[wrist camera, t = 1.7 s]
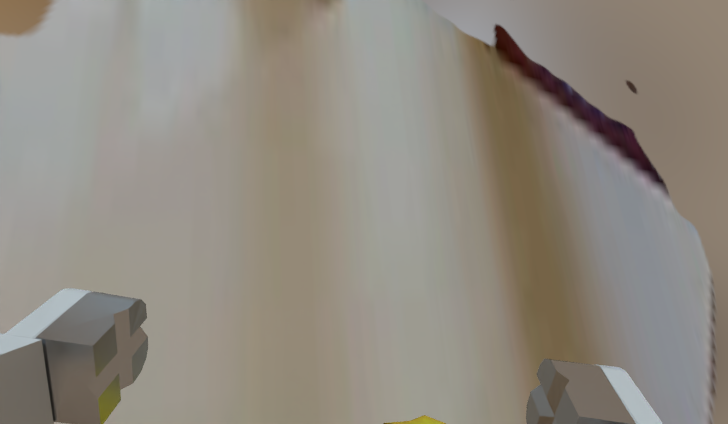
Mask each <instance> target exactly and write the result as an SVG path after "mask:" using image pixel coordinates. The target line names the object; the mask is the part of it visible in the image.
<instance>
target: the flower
mask: <svg viewBox="0 0 728 424" xmlns="http://www.w3.org/2000/svg"><path fill="white" fill-rule="evenodd" d="M384 424H446V423H443V422H440V421H438V420H435V419H433V418H430V417H428V416H425V415H424V416H421V417H419V418H416V419H413V420H411V421H404V422H392V423H384Z"/></svg>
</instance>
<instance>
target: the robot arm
mask: <svg viewBox="0 0 728 424" xmlns="http://www.w3.org/2000/svg"><path fill="white" fill-rule="evenodd" d="M146 319H147V313H146V304H145V303H144V302H143V301H142V300H141V299H135V298H129V297H123V296H117V295H111V294H105V293H99V292H91V291H87V290H80V289H73V288H67V289H62V290H61V291H59V292H58V293H57V294H56V295H54V296H53V297H52V298H50V299H49V300H48V301H46V302H45V303H44V304H43V305H41V306H40V307H39V308H37V309H36V310H35V311H34V312H32V313H31V314H30V315H28V316H27V317H26V318H25V319H23V320H22V321H21V322H19V323H18V324H17V325H15V326H14V327H13V328H12V329H10V330H9V331H8V332H6V333H5V334H0V424H54V422H61V423H69V424H103V423H104V422H105V421H106V419H107V418H108V417H109V415H110V414H111V412H112V411H113V410H114V408H115V407H116V406H117V404H118V403H119V402H120V400H121V397H120V390H121V389H123V388H125V387H127V386H129V385H131V384H132V383H134V381H135V380H136V378H137V377H138V375H139V374H140V373H141V370H142V368H143V365H144V363H145V360H146V356H147V350H148V336H147V335H146V334H145V332H144V331H143V330H142V328H141V327H140V326H141V324H142V323H143V322H144V321H145V320H146ZM537 377H538V379H539V381H540V384H541V385H539V386H538V387H537V388H535V389H534V390H532V391H531V392H530V396H529V399H528V403H527V410H526V422H527V424H663V423H662V422H661V420H660V419H659V418H658V416H657V415H656V413H655V412H654V410H653V409H652V408H651V406H650V405H649V403H648V402H647V401H646V399H645V398H644V396H643V395H642V393H641V392H640V391H639V389H638V388H637V386H636V385H635V383H634V382H633V381H632V379H631V378H630V376H629V375H628V374H627V372H626V371H625V370H623V369H621V368H620V367H613V366H604V365H590V364H582V363H575V362H567V361H560V360H552V359H544V360H543V361H542V363H541V364H540V366H539V369H538V372H537Z"/></svg>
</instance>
